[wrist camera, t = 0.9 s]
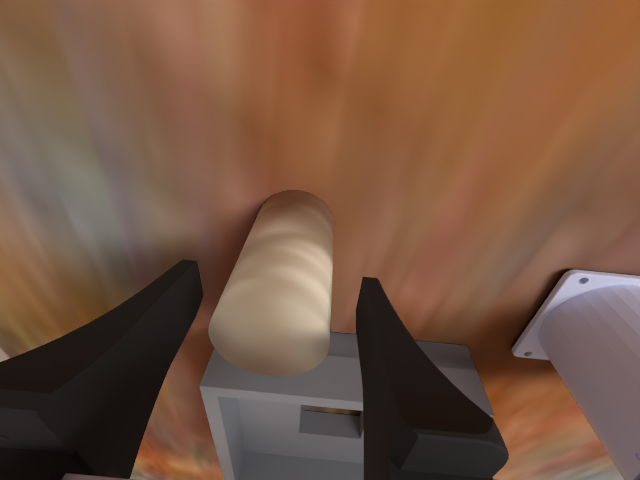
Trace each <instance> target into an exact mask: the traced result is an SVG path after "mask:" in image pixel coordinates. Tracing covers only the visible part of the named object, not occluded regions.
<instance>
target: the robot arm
mask: <svg viewBox="0 0 640 480" xmlns="http://www.w3.org/2000/svg"><path fill="white" fill-rule="evenodd" d="M202 298H203V291H202V285H201V280H200V275H199V270H198V265H197V261H191V260H182V261H180V262H179V263H178V264H176V265H175V266H174V267H172V268H171V269H170V270H168V271H167V272H166V273H164V274H163V275H162V276H160V277H159V278H158V279H156V280H155V281H154V282H152V283H151V284H150V285H148V286H147V287H146V288H144V289H143V290H141V291H140V292H138V293H137V294H135V295H134V296H132V297H131V298H129V299H128V300H127V301H125V302H124V303H122V304H121V305H119V306H117V307H116V308H114V309H113V310H111V311H109V312H108V313H106V314H104V315H102V316H101V317H99V318H97V319H95V320H94V321H92V322H90V323H88V324H86V325H84V326H82V327H80V328H78V329H76V330H74V331H72V332H70V333H68V334H66V335H64V336H62V337H60V338H58V339H56V340H54V341H51V342H49V343H47V344H45V345H42V346H40V347H38V348H35V349H33V350H31V351H28V352H26V353H23V354H21V355H18V356H16V357H13V358H10V359H8V360H5V361H2V362H0V480H133V479H130V476H131V473H132V469H133V466H134V463H135V460H136V457H137V454H138V450H139V447H140V444H141V441H142V438H143V435H144V432H145V430H146V427H147V424H148V421H149V418H150V415H151V413H152V410H153V407H154V405H155V402H156V399H157V397H158V394H159V391H160V389H161V386H162V384H163V381H164V379H165V376H166V374H167V372H168V369H169V367H170V365H171V363H172V361H173V359H174V357H175V355H176V353H177V352H178V350H179V348H180V346H181V344H182V342H183V340H184V338H185V336H186V334H187V332H188V331H189V329H190V327H191V325H192V323H193V321H194V319H195V317H196V314H197V312H198V309H199V306H200V304H201V301H202ZM356 335H357V343H358V352H359V360H360V368H361V377H362V388H363V429H364V480H493V478H492V477H493V476H494V475H495V474H496V473H497V472H498V471H499V470H500V469H501V468H502V467H503V466H504V465H505V464H506V462H507V460H508V456H509V454H508V451H507V448H506V446H505V443H504V441H503V438H502V436H501V434H500V432H499V430H498V428H497V426H496V424H495V422H494V420H493V418H491V417H490V416H489V415H488V414H487V413H485V412H484V411H483V410H482V409H481V408H480V407H478V406H477V405H476V404H475V403H474V402H472V401H471V400H470V399H469V398H468V397H467V396H465V395H464V394H463V393H462V392H461V391H460V390H459V389H458V388H457V387H456V386H455V385H454V384H453V383H452V382H451V381H450V380H449V379H448V378H447V377H446V376H445V375H444V374H443V373H442V372H441V371H440V370H439V369H438V368H437V367H436V366H435V365H434V363H433V362H432V361H431V360H430V359H429V358H428V356H427V355H426V354H425V353H424V352H423V350H422V349H421V348H420V347H419V345H418V344H417V343H416V342H415V340H414V339H413V337H412V336H411V335H410V333H409V332H408V330H407V329H406V327H405V326H404V324H403V323H402V321H401V320H400V318H399V317H398V315H397V313H396V312H395V310H394V308H393V307H392V305H391V303H390V301H389V299H388V298H387V296H386V294H385V292H384V290H383V288H382V286H381V284H380V282H379V280H378V279H377V278H370V277H363V279H362V284H361V289H360V293H359V298H358V303H357V308H356ZM512 353H513V355H514V356H516V357H523V358H533V359H544V360H550V361H551V363H552V365H553V366H554V368H555V369H556V371H557V373H558V374H559V376H560V377H561V379H562V381H563V382H564V384H565V385H566V387H567V389H568V390H569V392H570V393H571V395H572V397H573V398H574V400H575V401H576V403H577V405H578V406H579V408H580V409H581V411H582V413H583V414H584V416H585V417H586V419H587V421H588V422H589V424H590V425H591V427H592V429H593V430H594V432H595V433H596V435H597V437H598V438H599V440H600V441H601V443H602V445H603V446H604V448H605V449H606V451H607V453H608V454H609V456H610V458H611V459H612V461H613V462H614V464H615V466H616V467H617V469H618V470H619V472H620V474H621V475H622V477H623V478H624V480H640V276H635V275H625V274H615V273H605V272H595V271H584V270H570V271H567V272H566V273H565V274H564V275H563V276H562V277H561V279H560V280H559V282H558V283H557V284H556V286H555V287H554V289H553V290H552V292H551V293H550V294H549V296H548V297H547V299H546V300H545V302H544V303H543V305H542V306H541V307H540V309H539V310H538V312H537V313H536V315H535V316H534V317H533V319H532V320H531V322H530V323H529V325H528V326H527V327H526V329H525V330H524V332H523V333H522V335H521V336H520V337H519V339H518V340H517V342H516V343H515V345H514V346H513V348H512Z"/></svg>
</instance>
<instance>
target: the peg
mask: <svg viewBox="0 0 640 480" xmlns="http://www.w3.org/2000/svg"><path fill="white" fill-rule="evenodd" d="M333 245H334V219H333V215H332V213H331V211H330V209H329V208H328V206H327V205H326V204H325V203H324V202H323V201H322V200H321V199H319V198H318V197H316V196H314V195H313V194H310V193H308V192H304V191H299V190H288V191H282V192H279V193H277V194H275V195H273V196H271V197H270V198H268V199H267V200H266V201H265V203H264V204H263V205H262V207H261V209H260V211H259V213H258V215H257V218H256V220H255V222H254V224H253V227H252V229H251V231H250V233H249V235H248V238H247V240H246V242H245V244H244V247H243V249H242V251H241V253H240V255H239V258H238V260H237V262H236V264H235V267H234V269H233V271H232V273H231V275H230V278H229V280H228V282H227V284H226V287H225V289H224V291H223V293H222V295H221V298H220V300H219V302H218V304H217V307H216V309H215V311H214V313H213V316H212V318H211V320H210V323H209V327H208V334H209V338H210V341H211V343H212V345H213V347H214V348H215V350H216V351H217V352H218V353H219V354H220V355H221V356H222V357H223V358H224V359H226V360H227V361H229V362H230V363H232V364H233V365H235V366H237V367H239V368H241V369H244V370H246V371H249V372H253V373H256V374H261V375H267V376H291V375H297V374H301V373H304V372H307V371H309V370H311V369H313V368H315V367H316V366H318V365H319V364H320V363H321V362H322V361H323V360H324V359H325V357H326V356H327V354H328V351H329V347H330V322H331V296H332V271H333Z"/></svg>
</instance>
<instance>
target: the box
mask: <svg viewBox="0 0 640 480" xmlns="http://www.w3.org/2000/svg"><path fill="white" fill-rule="evenodd" d="M415 342H416V343H417V344H418V345H419V347H420V348H421V349H422V350H423V352H424V353H425V354H426V355H427V356H428V358H429V359H430V360H431V361H432V362H433V363H434V365H435V366H436V367H437V368H438V369H439V370H440V371H441V372H442V373H443V374H444V375H445V376H446V377H447V378H448V379H449V380H450V381H451V382H452V383H453V384H454V385H455V386H456V387H457V388H458V389H459V390H460V391H461V392H462V393H463V394H464V395H465V396H467V397H468V398H469V399H470V400H471V401H472V402H474V403H475V404H476V405H477V406H478V407H480V408H481V409H482V410H483V411H484V412H485V413H487V414H488V415H489V416H490V417H491V418H493V417H494V413H493V411H492V408H491V406H490V403H489V400H488V398H487V395H486V393H485V390H484V388H483V385H482V383H481V380H480V377H479V375H478V372H477V370H476V367H475V365H474V362H473V360H472V357H471V355H470V352H469V349H468V347H467V346H466V345H456V344H446V343H436V342H426V341H416V340H415ZM199 387H200V391H201V395H202V399H203V403H204V406H205V410H206V414H207V418H208V422H209V425H210V429H211V433H212V437H213V440H214V444H215V448H216V452H217V456H218V459H219V463H220V467H221V471H222V474H223V478H224V480H364V429H363V388H362V377H361V368H360V360H359V352H358V343H357V335H356V334H346V333H336V332H330V347H329V351H328V354H327V356H326V357H325V359H324V360H323V361H322V362H321V363H320V364H319V365H318V366H316V367H315V368H313V369H311V370H309V371H307V372H304V373H301V374H297V375H291V376H267V375H261V374H256V373H253V372H249V371H246V370H244V369H241V368H239V367H237V366H235V365H233V364H232V363H230V362H229V361H227V360H226V359H224V358H223V357H222V356H221V355H220V354H219V353H218V352H217V351H216V350H215V348H214V350H213V352H212V355H211V357H210V360H209V362H208V365H207V367H206V370H205V372H204V375H203V377H202V380H201V382H200V385H199ZM302 405H309V406H319V407H329V408H339V409H349V410H359V411H361V412H360V416H354V415H344V414H334V413H324V412H314V411H304V410H301V406H302Z"/></svg>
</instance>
